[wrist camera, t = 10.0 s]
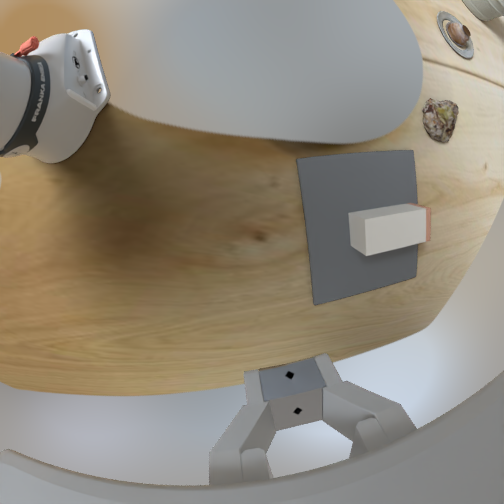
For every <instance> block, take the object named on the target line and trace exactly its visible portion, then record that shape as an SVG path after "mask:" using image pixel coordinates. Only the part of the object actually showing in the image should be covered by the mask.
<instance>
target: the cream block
mask: <svg viewBox="0 0 504 504" xmlns="http://www.w3.org/2000/svg"><path fill="white" fill-rule="evenodd" d="M348 215H349V227H350V243H351V246H352V247H353V248H355V249H356V250H358V251H359V252H361V253H362V254H364V255H365V256H369V255H373V254H377V253H382V252H386V251H390V250H394V249H398V248H402V247H406V246H410V245H414V244H418V243H422V242H426V241H430V231H431V208H428V207H425V206H421V205H417V204H414V203H407V204H400V205H394V206H388V207H381V208H375V209H369V210H363V211H357V212H351V213H348Z"/></svg>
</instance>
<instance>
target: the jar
mask: <svg viewBox="0 0 504 504" xmlns="http://www.w3.org/2000/svg"><path fill="white" fill-rule="evenodd" d="M462 1H463V2H464V4H465V5H466V6H467V7H468V8H469V10H470V11H471V12H472V13H473V14H474V15H475V16H476V17H478V18H479V19H480V20H482V21H489V20H491V19H494V18H497V17H500V16H504V0H462Z"/></svg>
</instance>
